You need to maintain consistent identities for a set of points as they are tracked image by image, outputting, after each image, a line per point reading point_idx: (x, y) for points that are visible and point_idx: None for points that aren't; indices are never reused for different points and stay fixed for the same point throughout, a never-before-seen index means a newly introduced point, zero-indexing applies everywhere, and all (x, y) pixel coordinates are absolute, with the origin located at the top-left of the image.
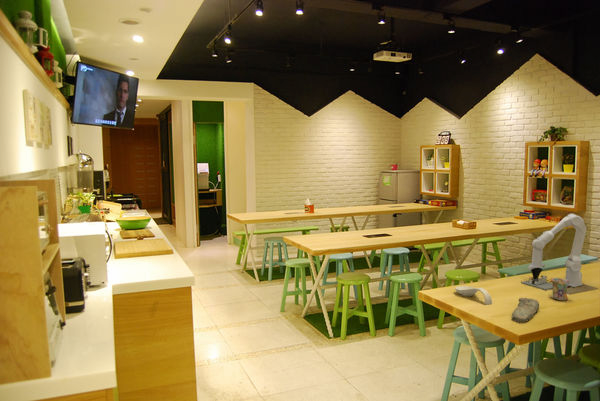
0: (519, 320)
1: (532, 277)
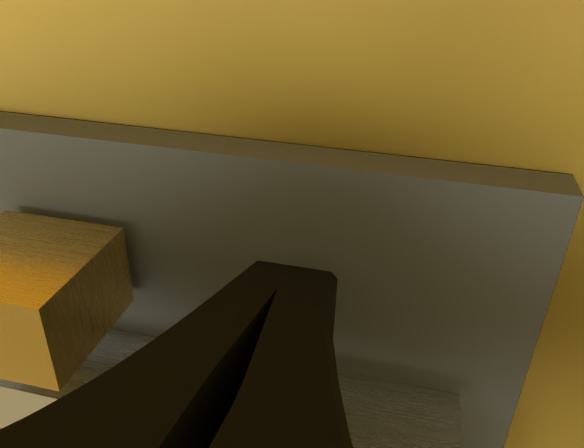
0: None
1: (20, 366)
